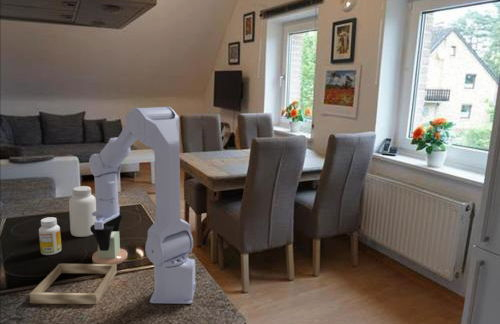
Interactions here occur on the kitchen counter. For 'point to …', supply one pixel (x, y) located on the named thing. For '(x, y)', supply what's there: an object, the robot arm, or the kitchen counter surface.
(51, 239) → the supplement bottle
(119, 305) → the kitchen counter surface
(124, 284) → the kitchen counter surface
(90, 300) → the crate frame
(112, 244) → the block
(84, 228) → the pill bottle
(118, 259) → the coaster
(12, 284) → the kitchen counter surface
